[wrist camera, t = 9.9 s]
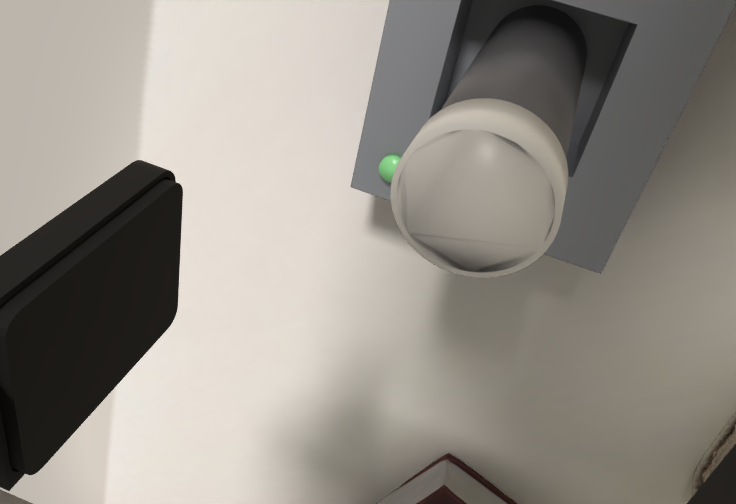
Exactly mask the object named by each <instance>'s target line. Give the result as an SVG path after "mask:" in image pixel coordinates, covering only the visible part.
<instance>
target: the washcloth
mask: <svg viewBox="0 0 736 504" xmlns="http://www.w3.org/2000/svg"><path fill="white" fill-rule="evenodd" d="M735 444H736V413H735V414H734V415H733V416H732V418H731V420H730V421H729V422H728V424H727V425H726V426H725V427H724V428H723V430H722V431H721V432H720V433H719V435H718V437H717V438H716V439H715V440H714V442H713V443H712V444H711V446H710V447H709V449H708V450H707V451H706V453H705V454H704V455H703V457H702V460H701V461H700V463H699V465H698V467H697V469H696V471H695V474H694V478H693V485H692V495H693V496H694V494H695V493H696V492H697V491H698V489H699V488H700V487H701V486H702V484H703V483H704V482H705V481H706V480H707V478H708V477H709V476H710V475H711V473H712V472H713V471H714V470H715V468H716V467H717V466H718V465H719V464H720V462H721V461H722V460H723V459H724V457H725V456H726V455H727V454H728V453H729V451H730V450H731V449H732V448H733V446H734V445H735Z"/></svg>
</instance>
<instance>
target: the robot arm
mask: <svg viewBox="0 0 736 504" xmlns="http://www.w3.org/2000/svg"><path fill="white" fill-rule="evenodd" d="M182 198H183V190H182V186H181V185H180V184H179V183H176V182H175V176H174V174H173V173H172V172H171V171H169V170H166V169H163V168H161V167H158V166H155V165H152V164H150V163H147V162H144V161H141V160H137V161H135V162H133V163H131V164H130V165H128V166H127V167H125V168H124V169H123V170H121V171H120V172H118V173H117V174H116V175H114V176H113V177H111V178H110V179H108V180H107V181H106V182H104V183H103V184H101V185H100V186H99V187H97V188H96V189H94V190H93V191H91V192H90V193H89V194H87V195H86V196H84V197H83V198H82V199H80V200H79V201H77V202H76V203H74V204H73V205H72V206H70V207H69V208H67V209H66V210H65V211H63V212H62V213H60V214H59V215H58V216H56V217H55V218H53V219H52V220H50V221H49V222H47V223H46V224H45V225H43V226H42V227H41V228H39V229H38V230H36V231H35V232H34V233H32V234H31V235H29V236H28V237H27V238H25V239H24V240H22V241H21V242H19V243H18V244H16V245H15V246H13V247H12V248H11V249H9V250H8V251H6V252H5V253H4V254H2V255H1V256H0V487H1V488H4V489H6V490H8V491H10V489H11V488H12V487H13V486H14V485H15V484H16V483H17V482H18V481H19V480H20V478H21V477H22V476H23V475H24V474H25V473H26V474H28V475H33V474H35V473H37V472H38V471H39V470H40V469H41V468H42V467H43V466H44V465H45V464H46V463H47V462H48V461H49V460H50V458H51V457H52V456H53V455H54V454H55V453H56V452H57V451H58V450H59V448H60V447H61V446H62V445H63V444H64V443H65V442H66V441H67V439H69V438H70V436H71V435H72V434H73V433H74V432H75V431H76V430H77V429H78V428H79V426H80V425H81V424H82V423H83V422H84V421H85V420H86V419H87V418H88V416H89V415H90V414H91V413H92V412H93V411H94V410H95V409H96V408H97V406H98V405H99V404H100V403H101V402H102V401H103V400H104V399H105V397H107V395H108V394H109V393H110V392H111V391H112V390H113V389H114V388H115V387H116V385H117V384H118V383H119V382H120V381H121V380H122V379H123V378H124V377H125V375H126V374H127V373H128V372H129V371H130V370H131V369H132V368H133V367H134V365H135V364H136V363H137V362H138V361H139V360H140V359H141V358H142V357H143V355H144V354H145V353H146V352H147V351H148V350H149V349H150V348H151V347H152V346H153V344H154V343H155V342H156V341H157V340H158V339H159V338H160V337H161V336H162V334H163V333H164V332H165V331H166V330H167V329H168V328H169V326H170V325H171V323H172V322H173V320H174V318H175V315H176V312H177V307H178V287H179V265H180V243H181V220H182ZM0 504H32V503H30V502H27V501H25V500H23V499H21V498H18V497H16V496H14V495H11V494H9V493H7V492H4V491H2V490H0ZM687 504H736V444H735V445H734V446H733V448H732V449H731V450H730V451H729V453H728V454H727V455H726V456H725V457H724V459H723V460H722V461H721V462H720V464H719V465H718V466H717V467H716V468H715V470H714V471H713V472H712V473H711V475H710V476H709V477H708V478H707V480H706V481H705V482H704V483H703V484H702V486H701V487H700V488H699V489H698V491H697V492H696V493H695V494H694V496H693V497H692V498H691V499H690V500H689V502H688V503H687Z"/></svg>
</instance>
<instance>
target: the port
mask: <svg viewBox="0 0 736 504" xmlns="http://www.w3.org/2000/svg"><path fill="white" fill-rule="evenodd" d="M735 4H736V0H390V1H389V6H388V11H387V16H386V20H385V25H384V30H383V35H382V40H381V44H380V49H379V54H378V59H377V63H376V68H375V73H374V78H373V82H372V87H371V92H370V97H369V101H368V106H367V111H366V116H365V120H364V125H363V130H362V135H361V139H360V144H359V149H358V154H357V158H356V163H355V168H354V173H353V178H352V182H351V187H352V188H355V189H357V190H360V191H363V192H366V193H369V194H372V195H375V196H378V197H381V198H383V199H386V200H389V201H391V197H390V196H391V183H392V177H393V174H394V171H395V168H396V166H397V164H398V162H399V160H400V159H401V157H402V156H403V154H404V153H405V151H406V150H407V148H408V147H409V145H410V144H411V143H412V141H413V140H414V138H415V137H416V135H417V134H418V132H419V131H420V130H421V128H422V127H423V125H424V124H425V123H426V122H427V121H428V120H429V119H430V118H431V117H432V116H434V115H435V114H436V113H437V112H439V111H440V110H441V109H442V107H443V106H444V104H445V103H446V101H447V100H448V98H449V97H450V95H451V94H452V92H453V91H454V89H455V88H456V86H457V85H458V83H459V82H460V80H461V79H462V77H463V75H464V74H465V72H466V71H467V69H468V68H469V66H470V65H471V63H472V62H473V60H474V59H475V57H476V56H477V54H478V53H479V51H480V50H481V48H482V47H483V45H484V44H485V42H486V41H487V39H488V38H489V36H490V35H491V33H492V32H493V30H494V29H495V27H496V26H497V25H498V24H499V22H500V21H501V20H502V19H503V18H505V17H506V16H507V15H509V14H510V13H512V12H513V11H516V10H518V9H520V8H523V7H527V6H533V5H543V6H549V7H553V8H556V9H559V10H561V11H562V12H564V13H566V14H567V15H568V16H570V17H571V18H572V19H573V20H574V21H575V22H576V23H577V25H578V26H579V28H580V29H581V31H582V33H583V36H584V38H585V42H586V48H587V58H586V64H585V69H584V74H583V79H582V84H581V89H580V94H579V99H578V104H577V109H576V114H575V118H574V123H573V128H572V133H571V138H570V143H569V148H568V153H567V158H566V161H567V166H568V185H567V191H566V196H565V201H564V207H563V212H562V218H561V223H560V226H559V229H558V232H557V235H556V236H555V238H554V240H553V242H552V244H551V245H550V246H549V248H548V249H547V250H546V252H545V253H544V254H545V255H548V256H551V257H554V258H557V259H560V260H562V261H565V262H568V263H571V264H574V265H577V266H580V267H583V268H586V269H588V270H591V271H594V272H597V273H600V274H601V273H602V271H603V269H604V267H605V265H606V263H607V261H608V259H609V257H610V255H611V253H612V251H613V249H614V247H615V245H616V243H617V241H618V239H619V237H620V235H621V233H622V231H623V229H624V227H625V225H626V223H627V221H628V219H629V217H630V215H631V213H632V211H633V209H634V207H635V205H636V203H637V201H638V199H639V197H640V195H641V193H642V191H643V189H644V187H645V184H646V182H647V180H648V178H649V176H650V174H651V172H652V170H653V168H654V166H655V164H656V162H657V160H658V158H659V156H660V154H661V152H662V150H663V148H664V146H665V144H666V142H667V140H668V138H669V136H670V134H671V132H672V130H673V128H674V126H675V124H676V122H677V120H678V118H679V116H680V114H681V112H682V110H683V108H684V106H685V104H686V102H687V100H688V98H689V96H690V94H691V92H692V90H693V88H694V86H695V84H696V82H697V80H698V78H699V76H700V74H701V72H702V70H703V68H704V66H705V64H706V62H707V60H708V58H709V56H710V54H711V52H712V50H713V48H714V46H715V44H716V42H717V40H718V38H719V36H720V34H721V32H722V30H723V28H724V26H725V24H726V22H727V20H728V18H729V16H730V14H731V12H732V10H733V8H734V6H735Z"/></svg>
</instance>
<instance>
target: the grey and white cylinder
mask: <svg viewBox="0 0 736 504" xmlns="http://www.w3.org/2000/svg"><path fill="white" fill-rule="evenodd" d="M586 58H587V48H586V42H585V38H584V36H583V33H582V31H581V29H580V28H579V26H578V25H577V23H576V22H575V21H574V20H573V19H572V18H571V17H570V16H568V15H567V14H566V13H564V12H562V11H561V10H559V9H556V8H553V7H549V6H543V5H533V6H527V7H523V8H520V9H518V10H516V11H513V12H512V13H510V14H509V15H507V16H506V17H505V18H503V19H502V20H501V21H500V22H499V24H498V25H497V26H496V27H495V29H494V30H493V32H492V33H491V35H490V36H489V38H488V39H487V41H486V42H485V44H484V45H483V47H482V48H481V50H480V51H479V53H478V54H477V56H476V57H475V59H474V60H473V62H472V63H471V65H470V66H469V68H468V69H467V71H466V72H465V74H464V75H463V77H462V79H461V80H460V82H459V83H458V85H457V86H456V88H455V89H454V91H453V92H452V94H451V95H450V97H449V98H448V100H447V101H446V103H445V104H444V106H443V107H442V109H441V110H440V111H439V112H437V113H436V114H435V115H434V116H432V117H431V118H430V119H429V120H428V121H427V122H426V123H425V124H424V125H423V127H422V128H421V130H420V131H419V132H418V134H417V135H416V137H415V138H414V140H413V141H412V143H411V144H410V145H409V147H408V148H407V150H406V151H405V153H404V154H403V156H402V157H401V159H400V160H399V162H398V164H397V166H396V168H395V171H394V174H393V177H392V183H391V196H390V197H391V206H392V210H393V214H394V218H395V220H396V223H397V225H398V227H399V229H400V231H401V233H402V234H403V236H404V237H405V239H406V240H407V241H408V243H409V244H410V245H411V246H412V247H413V248H414V249H415V250H416V251H417V252H418V253H419V254H420V255H421V256H422V257H424V258H425V259H427V260H428V261H429V262H431V263H432V264H434V265H436V266H438V267H440V268H442V269H444V270H447V271H449V272H452V273H455V274H458V275H462V276H468V277H476V278H493V277H499V276H504V275H508V274H512V273H514V272H517V271H519V270H522V269H524V268H525V267H527V266H529V265H531V264H532V263H533V262H535V261H536V260H537V259H538V258H540V257H541V256H542V255H543V254H544V253H545V252H546V250H547V249H548V248H549V246H550V245H551V244H552V242H553V240H554V238H555V236H556V235H557V232H558V229H559V226H560V223H561V218H562V212H563V207H564V201H565V196H566V191H567V185H568V166H567V161H566V158H567V153H568V148H569V143H570V138H571V133H572V128H573V123H574V118H575V114H576V109H577V104H578V99H579V94H580V89H581V84H582V79H583V74H584V69H585V64H586Z"/></svg>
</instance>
